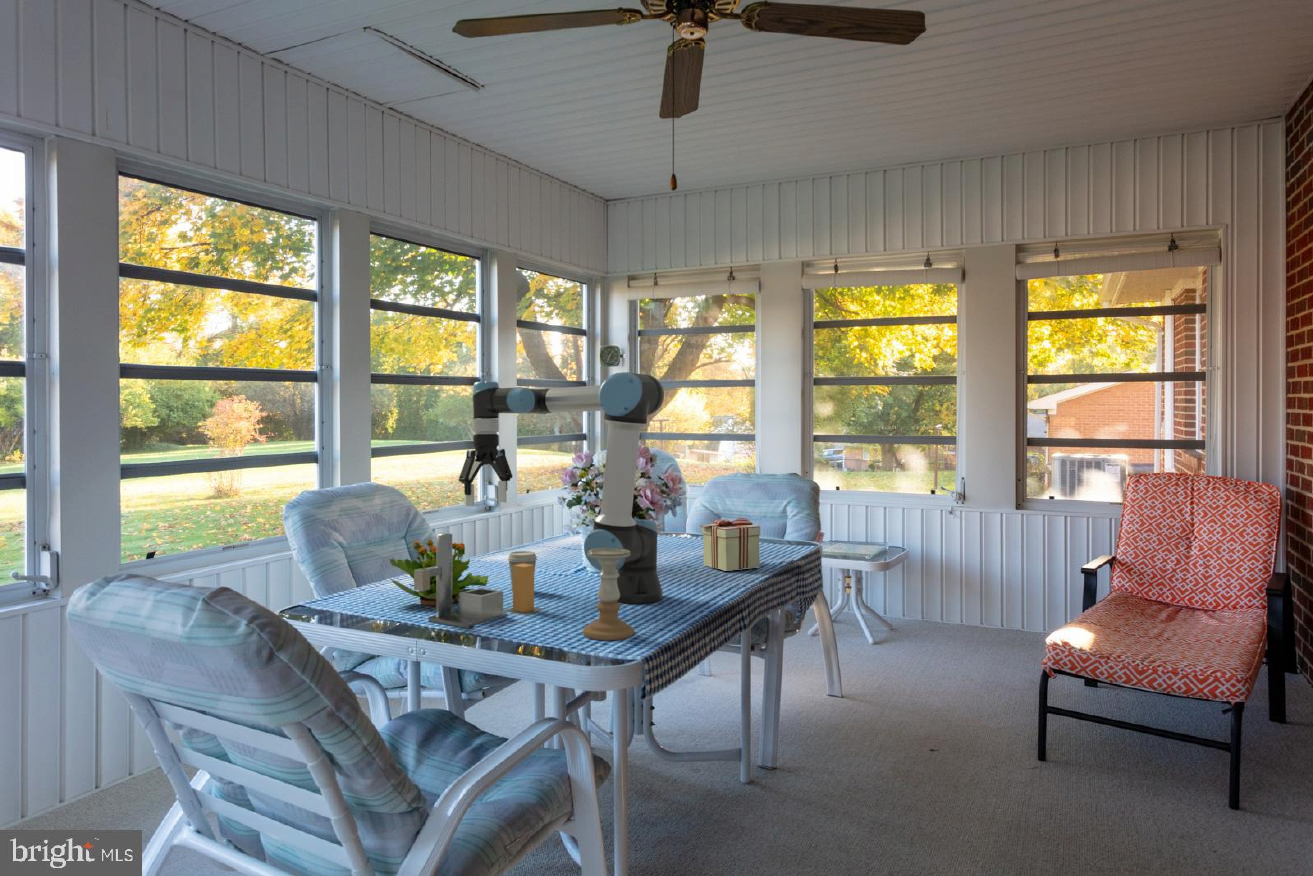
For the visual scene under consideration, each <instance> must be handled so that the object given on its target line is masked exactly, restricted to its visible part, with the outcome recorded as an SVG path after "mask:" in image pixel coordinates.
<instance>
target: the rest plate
mask: <svg viewBox="0 0 1313 876" xmlns="http://www.w3.org/2000/svg"><path fill="white" fill-rule="evenodd" d="M543 610H544V608H543V607H536V606H534V609H533V610H530V611H527V612H520V611H514V610H513V607H511V608H507V609H503V612H506V613H512V614H513V613H514V614H518V615H523V616H526V615H529V614H533V613H536V612H539V611H543Z"/></svg>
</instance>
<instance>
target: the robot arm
mask: <svg viewBox="0 0 1313 876" xmlns="http://www.w3.org/2000/svg"><path fill="white" fill-rule="evenodd" d="M499 386H500V385H499V383H498V382H497V381H476V382H474V383H473V389H472V390H473V391H472V407H473V408H472V409H473V416H472V417H473V418H472V419H473V420H472V422H473V423H472V424H473V426H472V427H473V430H472V431H473V433H474V434H473V436H472V437H473V438H472V439H473V441H472V442H473V443H472V444H473V447H475V448H474V449H468V450H466V455H465V456H466V458H465V459H464V462H463V466H462V469H461V472H460V475H459V476H458V482H459V483H461V484H463V485H464V486H463V487H464V490H463V491H464V495H465V506H466V507H475V483H473V482H474V480H475V478H476V476H477V475H478V473H479V471H480V470H481V468H482V467H483V466H484V465H486V466H487V465H490V466H491V467H492V469H493V470H494V473H495V474H496V475H497V477H498V479H499V480H498V481H497V500H498V503H504V504H505V503H507V491H508V482H510V481H511V479H512V478H513V473H512V471H511V468H510V465H509V462H508V459H507V457H506V450H505V448H498V447H499V446H500V435H499V434H498V433H499V432H500V422H499V421H500V419H499V418H500V415H499V414H539V415H546V414H554V413H555V414H556V413H581V412H582V413H583V412H584V413H585V412H604V415H603V416H604V417H603V421H604V422H605V423H606V425H607V426H608V432H607V433H608V434H607V441H606V442H607V445H606V452H605V463H604V465H605V466H604V474H603V485H602V493H601V494H602V495H601V505H600V513H599V514H598V515H597V516H596V517H594V519H593V526H592V527H593V528H592V531H590V533H589V534H588V535H587V536H586V537H585V539H584V543H583V551H584V555H585V558H586V560H587V561H588V562H589V564H590V565H591V566H592V567H593V568H595V569H596V570H597V571H600V572H601V571H602V566H601V564H600V563H599V561H598V559H597V558H592V557H589V556H588V554H587V553H588V551H589V550H592V549H597V548H621V549H627V550H629V551H630V552H631V554H630V556H628V557H626V558H620V561H619V563H618V564H617V565H616V571H617V572H618V573H619V577H618V578H617V585H618V589H619V592H620V597H619V599H618V600H617V601H618V602H619V603H624V604H650V603H655V602H659V601H661V600H663V588H662V585H661V581H660V578H659V574H658V569H657V568H658V527H657V526H658V525H657V522H656V521H654V520H650V519H649V520H648V519H639V518H638V519H637V518H636V519H635V518H633V516H632V515H633V514H632V513H633V504H634V494H635V485H636V475H637V467H638V466H637V465H638V458H639V457H638V455H639V445H640V437H641V436H640V435H641V430H642V429H643V428H645V426H646V425H648V424H647V423H648V422H647V421H648V416H651V415H652V414H654V413H656V412H658V410H660V408H661V407H662V405H663V404H664V403H663V402H664V398H665V390H664V388H663V385H662V383H661V382H660V381H659V380H658V379H657V378H656V377H654V376H652V375H650V374H645V373H637V372H636V373H635V372H629V371H625V372H624V371H622V372H616V373H612V374H610V375H609V376H608V377H607V378H605V379H604V381H603V382H602V384H599V385H586V386H585V385H583V386H582V385H581V386H568V387H567V386H566V387H552V388H528V387H524V386H522V387H521V386H516V387H499Z"/></svg>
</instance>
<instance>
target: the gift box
mask: <svg viewBox="0 0 1313 876" xmlns="http://www.w3.org/2000/svg"><path fill="white" fill-rule="evenodd" d="M698 527H700V528H701V530H702V531H701V534H702V535H703V536H702V537H703V538H702V539H703V540H702V541H703V547H702V548H703V555H702V556H703V566H704V565H707V566H710V567H712V568H718V569H721V570H724V571H731V570H736V569H743V568H753V567H759V566H760V536H761V526H760V525H754V524H753V523H752V521H750V520H749V519H747V518H746V517H739V518H736V519H734V520H732V521H731V520H729V519H724V518H723V519H722V518H721V519H720V518H719V519H714V520H713V521H712V524H711V523H710V524H702V525H698ZM712 568H711V569H712ZM759 568H760V567H759ZM724 571H723V572H724ZM731 572H732V571H731Z"/></svg>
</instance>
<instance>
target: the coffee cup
mask: <svg viewBox="0 0 1313 876" xmlns="http://www.w3.org/2000/svg"><path fill="white" fill-rule="evenodd" d="M537 558H538V557H537V556H536V552H534V551H526V550H519V551H518V550H517V551H512V552H509V554H508V558H507V561H508V565H509V574H510V586H511V591H512V593H513V565H518V564H531V565H534V574H535V573H536V572H535V570H536V562H537V560H538V559H537Z"/></svg>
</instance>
